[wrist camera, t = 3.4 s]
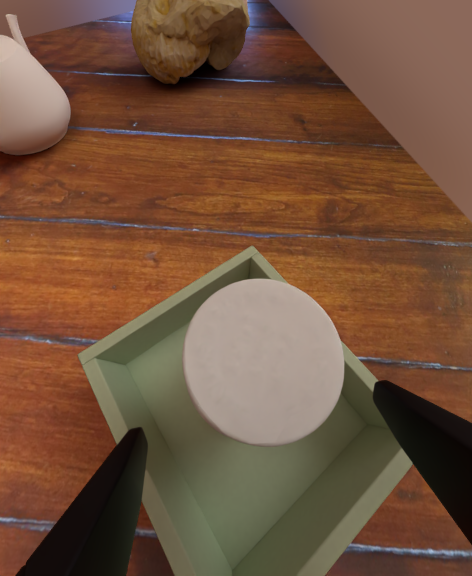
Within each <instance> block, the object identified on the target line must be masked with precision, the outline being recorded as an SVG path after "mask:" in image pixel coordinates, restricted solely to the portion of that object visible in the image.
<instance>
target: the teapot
mask: <svg viewBox="0 0 472 576" xmlns="http://www.w3.org/2000/svg"><path fill="white" fill-rule="evenodd" d="M6 18H7V21H8V24H9V27H10V30H11V32H12V35H13V38H14V40H13V39H12V38H10V37H7V36H5V35H0V151H1V152H3V153H5V154H6V153H7V154H12V155H26V154H32V153H36V152H40V151H43V150H45V149H47V148H49V147H51V146H53V145H55V144H56V143H58V142H59V141H60V140H61V139H62V138H63V137H64V135H65V134H66V132H67V129H68V124H69V121H70V116H71V109H70V104H69V101H68V98H67V96H66V94H65V92H64V91H63V89H62V88H61V87H60V85H59V84H58V83H57V82H56V81H55V80H54V78H53V77H52V76H51V75H50V74H49V73H48V72H47V71H46V70H45V69H44V68H43V66H42V65H41V64H40V63H39V62H38V61H37V60H36V59H35V58H34V57H33V56H32V55H31V54H30V53H29V50H28V48H27V46H26V44H25V42H24V39H23V37H22V35H21V32H20V29H19V27H18V22H17V15H11V14H7V15H6Z"/></svg>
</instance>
